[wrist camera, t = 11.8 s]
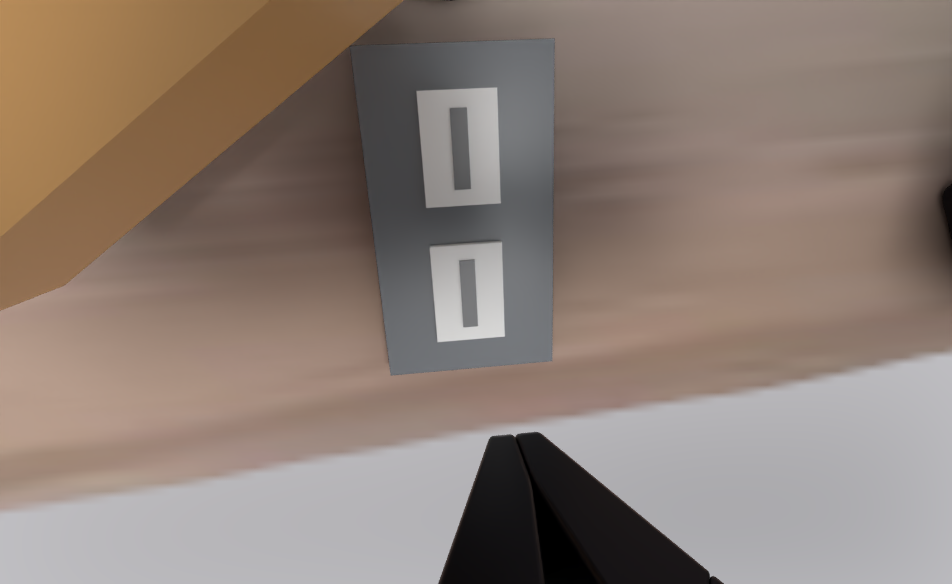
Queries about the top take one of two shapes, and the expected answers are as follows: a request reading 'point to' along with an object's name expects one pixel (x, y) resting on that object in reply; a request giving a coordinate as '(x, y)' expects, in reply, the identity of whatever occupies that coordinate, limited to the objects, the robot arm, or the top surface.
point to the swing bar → (136, 110)
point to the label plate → (460, 198)
